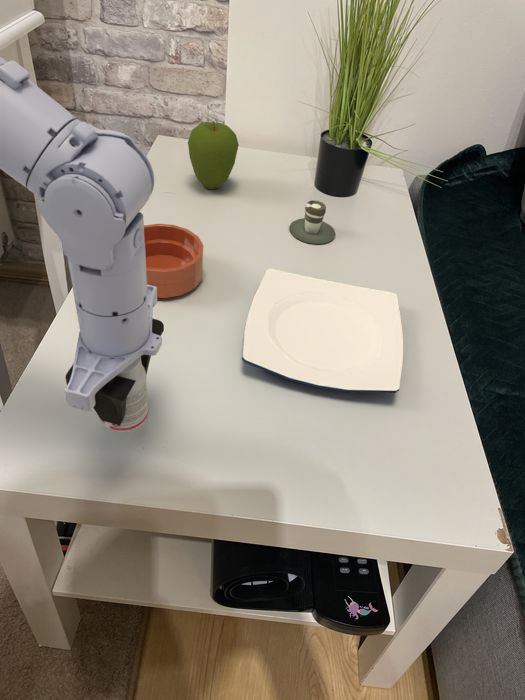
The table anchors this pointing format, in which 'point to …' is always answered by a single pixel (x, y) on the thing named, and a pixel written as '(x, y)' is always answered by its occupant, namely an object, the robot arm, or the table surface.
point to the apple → (212, 153)
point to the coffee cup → (313, 225)
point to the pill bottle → (133, 399)
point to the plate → (325, 334)
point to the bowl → (172, 259)
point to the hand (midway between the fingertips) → (123, 399)
